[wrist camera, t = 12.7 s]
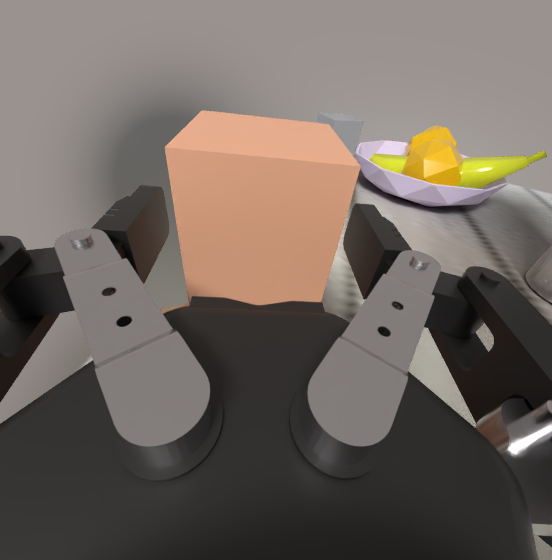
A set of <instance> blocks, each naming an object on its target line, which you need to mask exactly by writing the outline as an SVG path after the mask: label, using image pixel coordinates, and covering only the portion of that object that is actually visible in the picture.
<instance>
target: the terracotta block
mask: <svg viewBox="0 0 552 560" xmlns="http://www.w3.org/2000/svg"><path fill="white" fill-rule="evenodd" d="M165 151H166V158H167V164H168V171H169V177H170V184H171V190H172V197H173V203H174V209H175V216H176V223H177V229H178V236H179V242H180V248H181V255H182V262H183V268H184V275H185V281H186V288H187V294H188V300H189V305H190V302H191V298H192V296H202V297H223V298H229V299H233V300H237V301H241V302H245V303H250V304H254V305H266V304H273V303H280V302H287V301H306V302H321V301H322V297H323V294H324V290H325V287H326V284H327V280H328V277H329V273H330V270H331V266H332V263H333V260H334V256H335V253H336V249H337V246H338V243H339V239H340V236H341V232H342V229H343V226H344V222H345V219H346V215H347V212H348V209H349V205H350V202H351V198H352V195H353V192H354V188H355V185H356V181H357V178H358V174H359V171H360V168H361V166H360V165H359V163H358V162H357V161H356V159H355V158H354V157H353V155H352V154H351V153H350V151H349V150H348V149H347V147H346V146H345V145H344V143H343V142H342V141H341V140H340V138H339V137H338V136H337V134H336V133H335V132H334V130H333V129H332V128H331V126H330V125H329V124H322V123H312V122H304V121H295V120H285V119H276V118H267V117H257V116H248V115H240V114H231V113H222V112H212V111H201V112H200V113H199V114H198V115H197V116H196V117H195V118H194V119H193V120H192V121H191V122H190V123H189V124H188V125H187V126H186V127H185V128H184V129H183V130H182V131H181V132H180V133H179V134H178V135H177V136H176V137H175V138H174V139H173V140H172V141H171V142H170V143H169V144H168V145H167V146H166V147H165Z"/></svg>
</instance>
